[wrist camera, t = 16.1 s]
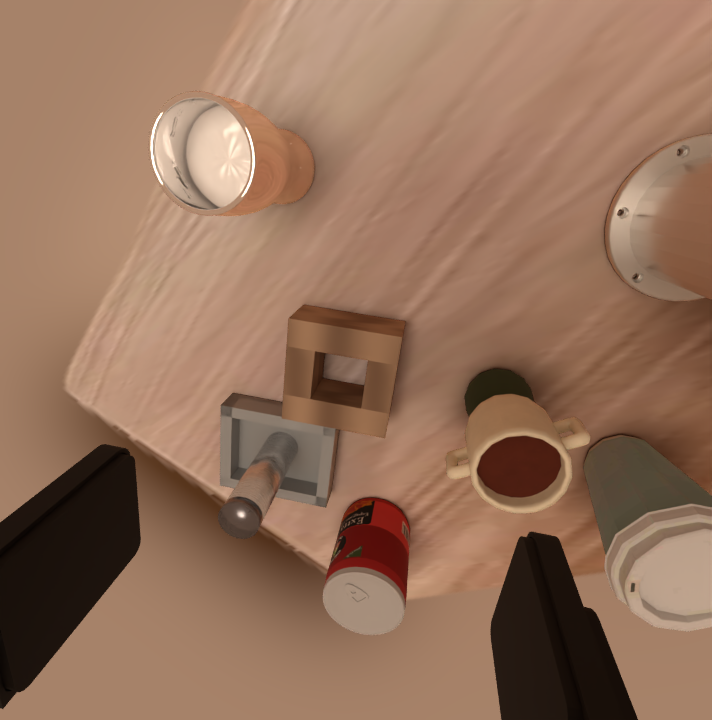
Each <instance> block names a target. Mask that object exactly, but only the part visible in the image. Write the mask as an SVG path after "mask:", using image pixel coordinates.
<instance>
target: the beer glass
mask: <svg viewBox="0 0 712 720" xmlns="http://www.w3.org/2000/svg"><path fill="white" fill-rule="evenodd" d="M148 151H149V159H150V163H151V167H152V170H153V173H154V175H155V178H156V180H157V182H158V184H159V185H160V187H161V188H162V190H163V191H164V192H165V194H166V195H167V196H168V197H169V198H170V199H171V200H172V201H173V202H174V203H176V204H177V205H178V206H180V207H181V208H183V209H185V210H187V211H189V212H192V213H194V214H198V215H205V216H213V215H215V216H241V215H247V214H251V213H255V212H258V211H260V210H262V209H264V208H266V207H268V206H270V205H271V204H273V203H275V204H290V203H293V202H295V201H297V200H299V199H300V198H302V197H303V196H304V195H305V194H306V193H307V191H308V190H309V188H310V186H311V184H312V181H313V178H314V170H315V168H314V160H313V156H312V153H311V151H310V149H309V147H308V145H307V144H306V143H305V141H304V140H303V139H302V138H301V137H299V136H298V135H297V134H295V133H293V132H291V131H289V130H285V129H278V128H277V127H276V126H275V125H274V124H273V123H272V122H271V121H270V120H269V119H268V118H267V117H266V116H264V115H263V114H262V113H260V112H259V111H257V110H255V109H254V108H252V107H250V106H248V105H246V104H244V103H241V102H238V101H236V100H233V99H229V98H225V97H221V96H217V95H214V94H211V93H208V92H203V91H190V92H185V93H181V94H179V95H177V96H175V97H173V98H171V99H170V100H169V101H167V102H166V103H165V104H164V105H163V106H162V107H161V109H160V110H159V111H158V113H157V115H156V116H155V118H154V121H153V123H152V126H151V129H150V134H149V143H148Z"/></svg>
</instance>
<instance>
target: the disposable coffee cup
mask: <svg viewBox="0 0 712 720" xmlns="http://www.w3.org/2000/svg"><path fill="white" fill-rule="evenodd" d="M583 469H584V473H585V477H586V481H587V484H588V488H589V492H590V496H591V500H592V504H593V508H594V512H595V515H596V519H597V523H598V527H599V531H600V535H601V539H602V542H603V546H604V550H605V554H606V556H605V567H604V568H605V571H606V575H607V577H608V581H609V584H610V588H611V589H612V590H613V591H614V593H615V595H616V597H617V598H618V599H619V600H620V601H622V602H623V603H624V604H626V605H627V606H628V607H629V609H630V611H631V612H633V613H634V614H636V615H637V616H639V617H640V618H642V619H643V620H645V621H646V622H648V623H649V624H650V625H652V626H654V627H659V628H667V629H674V630H682V631H692V630H697V629H702V628H708V627H712V496H711V495H710V494H709V493H708V492H706V491H705V490H704V489H703V488H701V487H700V486H699V485H698V484H697V483H695V482H694V481H693V480H692V479H691V478H689V477H688V476H687V475H686V474H684V473H683V472H682V471H681V470H680V469H678V468H677V467H676V466H675V465H674V464H672V463H671V462H670V461H669V460H667V459H666V458H665V457H664V456H663V455H661V454H660V453H659V452H658V451H657V450H655V449H654V448H653V447H652V446H650V445H649V444H648V443H647V442H645V441H644V440H642V439H638V438H636V437H630V436H624V435H617V436H613V437H609V438H605V439H602V440H601V441H599V442H598V443H597V444H596V445H594V446H593V447H592V448H591V449H589V452H588V454H587V457H586V459H585V462H584V467H583Z"/></svg>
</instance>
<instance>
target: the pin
mask: <svg viewBox="0 0 712 720" xmlns="http://www.w3.org/2000/svg"><path fill="white" fill-rule="evenodd" d="M297 452H298V445H297V442H296V441H295V439H294V438H293V437H292V436H291V435H289V434H287V433H284V432H275V433H273V434H271V435H270V436H269V437H268V438H267V440H266V441H265V443H264V444H263V446H262V447H261V449H260V451H259V452H258V454H257V455H256V457H255V458H254V460H253V461H252V463H251V464H250V466H249V467H248V469H247V470H246V472H245V473H244V475H243V476H242V478H241V479H240V481H239V482H238V484H237V486H236V487H235V489H234V490H233V492H232V493H231V495H230V496H229V498H228V499H227V501H226V502H225V504H224V505H223V507H222V508H221V510H220V512H219V514H218V521H219V524H220V525H221V527H222V529H223V530H224V531H225V532H226V533H228V534H229V535H231V536H233V537H236V538H241V539H245V538H250V537H252V536H254V535H255V534H256V533H257V531H258V529H259V527H260V525H261V523H262V521H263V519H264V517H265V515H266V513H267V511H268V509H269V507H270V505H271V503H272V501H273V499H274V497H275V495H276V493H277V492H278V490H279V488H280V486H281V484H282V482H283V480H284V478H285V476H286V474H287V472H288V470H289V468H290V466H291V464H292V462H293V460H294V458H295V456H296V454H297Z"/></svg>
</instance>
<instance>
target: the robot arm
mask: <svg viewBox="0 0 712 720" xmlns="http://www.w3.org/2000/svg"><path fill="white" fill-rule="evenodd" d="M678 149H680V154H679V155H678V156H677V150H678ZM619 209H621V210H622V213H621V215H619V216H618V215H617V212H618V210H619ZM605 246H606V250H607V254H608V258H609V260H610V262H611V264H612V266H613V268H614V270H615V271H616V273H617V274H618V275H619V276H620V277H621V279H622V280H623V281H624V282H626V283H627V284H628V285H629V286H631V287H632V288H633V289H635V290H637V291H639V292H641V293H643V294H645V295H647V296H650V297H653V298H656V299H660V300H667V301H692V300H697V299H702V298H708V299H711V300H712V133H711V134H704V135H698V136H694V137H690V138H686V139H683V140H679V141H677V142H675V143H672V144H670V145H668V146H666V147H664V148H662V149H660V150H659V151H657V152H656V153H654V154H653V155H651V156H649V157H648V158H647V159H645V160H644V161H643V162H642V163H641V164H640V165H639V166H638V167H637V168H635V169H634V170H633V171H632V173H631V174H630V175H629V176H628V177H627V179H626V180H625V181H624V182H623V184H622V185H621V187H620V188H619V190H618V192H617V194H616V195H615V197H614V199H613V201H612V204H611V207H610V209H609V212H608V215H607V221H606V226H605ZM635 273H636V274H637V275H636V277H635V278H634V279H632V277H633V275H634V274H635ZM140 540H141V538H140V524H139V511H138V497H137V482H136V469H135V459H134V457H133V456H130V452H129V451H128V450H127V449H126V448H121V447H116V446H111V445H106V444H104V445H100V446H98V447H97V448H96V449H94V450H93V451H92V452H91V453H89V454H88V455H87V456H86V457H84V458H83V459H82V460H80V461H79V462H78V463H76V464H75V465H74V466H73V467H71V468H70V469H69V470H68V471H66V472H65V473H64V474H62V475H61V476H60V477H58V478H57V479H56V480H55V481H53V482H52V483H51V484H50V485H48V486H47V487H45V488H44V489H43V490H42V491H40V492H39V493H38V494H36V495H35V496H34V497H32V498H31V499H30V500H29V501H27V502H26V503H25V504H23V505H22V506H21V507H20V508H18V509H17V510H16V511H15V512H13V513H12V514H11V515H10V516H8V517H7V518H6V519H4V520H3V521H2V522H0V708H2V709H3V708H4V707H5V706H6V704H7V703H8V702H9V701H10V700H11V698H12V697H13V696H14V695H15V694H16V692H21V691H23V690H25V689H26V688H27V687H28V686H29V685H30V684H31V683H32V682H33V680H34V679H35V678H36V677H37V675H38V674H39V673H40V672H41V671H42V669H43V668H44V667H45V666H46V664H47V663H48V662H49V660H50V659H51V658H52V657H53V656H54V654H55V653H56V652H57V651H58V650H59V648H60V647H61V646H62V645H63V643H64V642H65V641H66V640H67V638H68V637H69V636H70V635H71V634H72V632H73V631H74V630H75V629H76V627H77V626H78V625H79V624H80V622H81V621H82V620H83V619H84V617H85V616H86V615H87V614H88V612H89V611H90V610H91V609H92V607H93V606H94V605H95V604H96V603H97V601H98V600H99V599H100V598H101V596H102V595H103V594H104V593H105V592H106V590H107V589H108V588H109V587H110V585H111V584H112V583H113V581H114V580H115V579H116V578H117V577H118V575H119V574H120V573H121V572H122V571H123V569H124V568H125V567H126V566H127V564H128V563H129V562H130V561H131V559H132V558H133V557H134V556H135V554H136V552H137V551H138V548H139V546H140ZM491 643H492V650H493V658H494V666H495V673H496V681H497V689H498V696H499V704H500V712H501V719H502V720H638V719H637V716H636V713H635V711H634V708H633V706H632V703H631V701H630V698H629V695H628V693H627V690H626V688H625V685H624V682H623V680H622V677H621V675H620V672H619V669H618V667H617V664H616V662H615V659H614V657H613V654H612V651H611V649H610V646H609V644H608V641H607V638H606V636H605V633H604V631H603V628H602V626H601V623H600V621H599V618H598V616H597V614H596V613H595V612H594V611H593V610H592V609H591V608H587V607H583V604H582V601H581V598H580V596H579V593H578V590H577V587H576V584H575V582H574V579H573V576H572V573H571V571H570V568H569V565H568V562H567V560H566V557H565V554H564V551H563V549H562V546H561V543H560V541H559V539H558V538H557V537H555V536H551V535H546V534H541V533H536V532H530V533H529V534H528V536H527V537H522V536H521V537H520V538H519V540H518V542H517V545H516V548H515V551H514V554H513V557H512V560H511V563H510V566H509V569H508V572H507V575H506V578H505V581H504V584H503V587H502V590H501V593H500V596H499V600H498V603H497V605H496V609H495V612H494V615H493V618H492V621H491Z"/></svg>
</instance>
